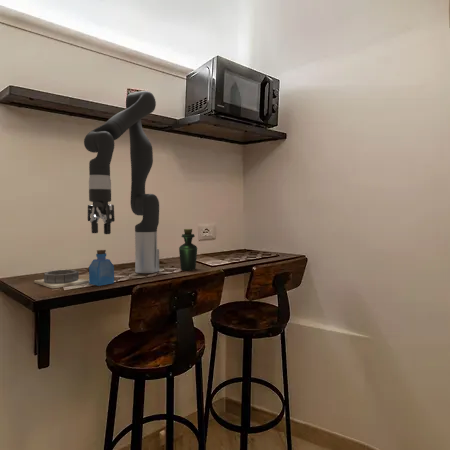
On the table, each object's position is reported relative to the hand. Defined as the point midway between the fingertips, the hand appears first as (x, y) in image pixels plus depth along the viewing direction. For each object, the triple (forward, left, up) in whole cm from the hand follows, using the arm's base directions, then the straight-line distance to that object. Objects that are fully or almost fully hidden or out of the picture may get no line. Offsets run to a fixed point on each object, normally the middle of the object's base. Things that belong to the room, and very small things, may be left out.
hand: (100, 233), depth 128 cm
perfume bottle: (0, 0, -18) cm, 18 cm away
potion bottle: (-41, +2, -18) cm, 45 cm away
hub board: (+9, -12, -18) cm, 23 cm away
